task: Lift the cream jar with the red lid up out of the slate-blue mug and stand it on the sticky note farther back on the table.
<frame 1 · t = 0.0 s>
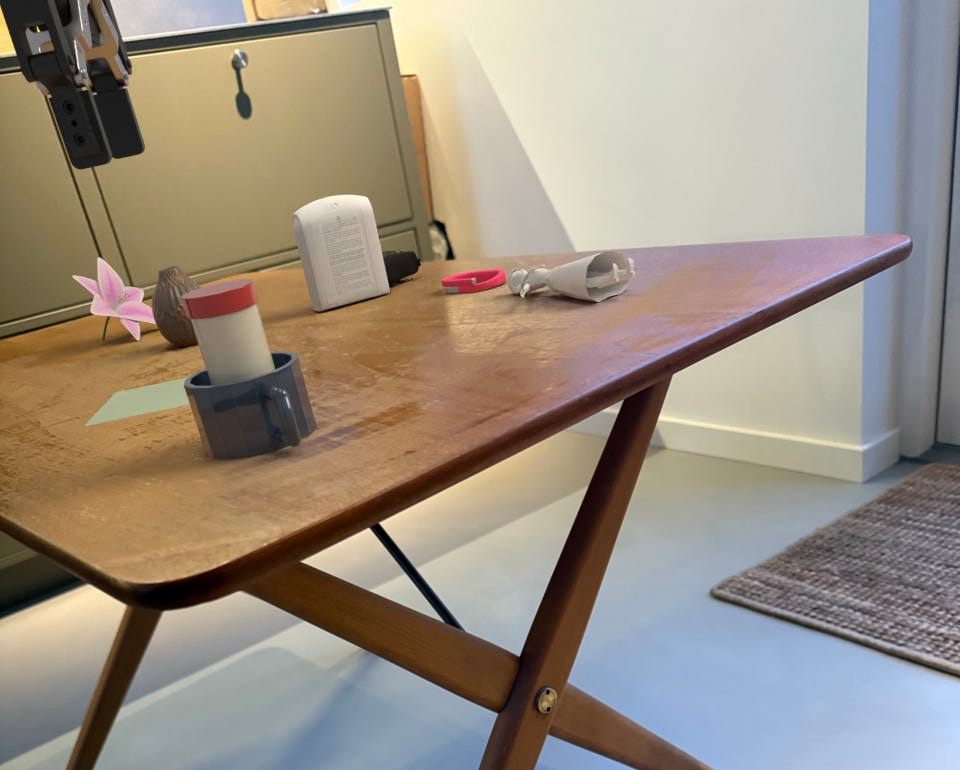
hand: (112, 161, 62), 22 cm above the table, tool pointing down, fingers open, 8 cm apart
fitness band: (474, 288, 123), on the table
jar: (261, 437, 81), resting on mug
sticky note: (170, 399, 101), on the table
woman figurine: (567, 297, 109), on the table
white rounded block: (353, 303, 129), on the table
tape measure: (393, 285, 135), on the table
lily: (130, 339, 137), on the table
mug: (263, 443, 81), on the table
vase: (192, 343, 126), on the table
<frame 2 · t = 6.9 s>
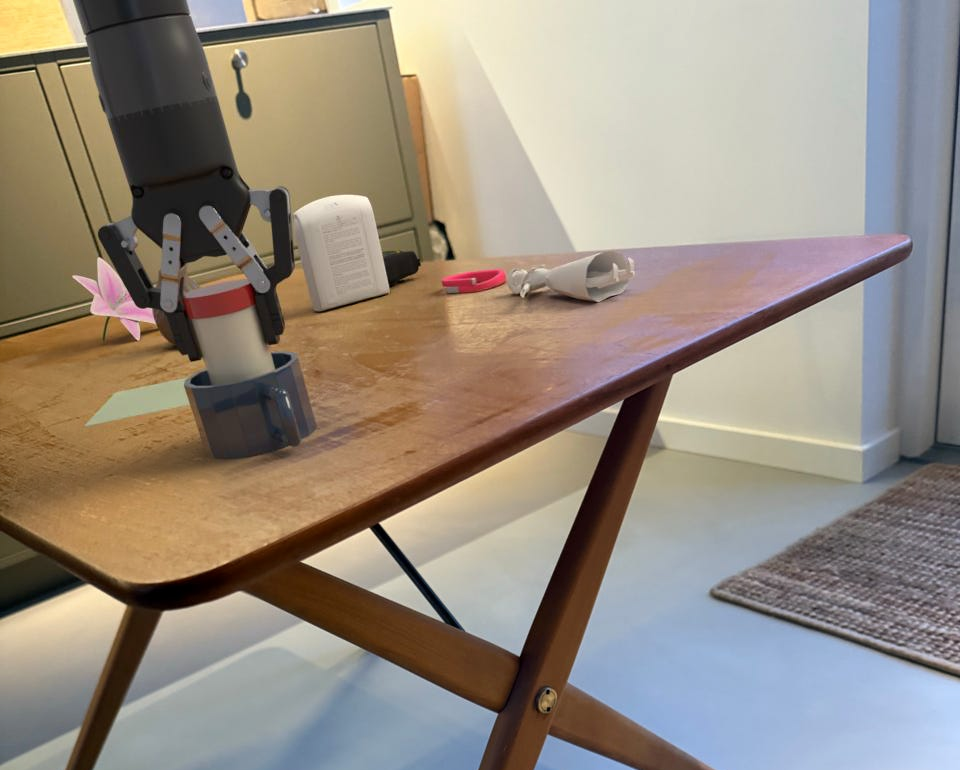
hand: (235, 349, 78), 7 cm above the table, tool pointing down, fingers closed on jar, 5 cm apart
jar: (261, 437, 81), point 1 cm above the table, touching gripper, mug
everything else where it was.
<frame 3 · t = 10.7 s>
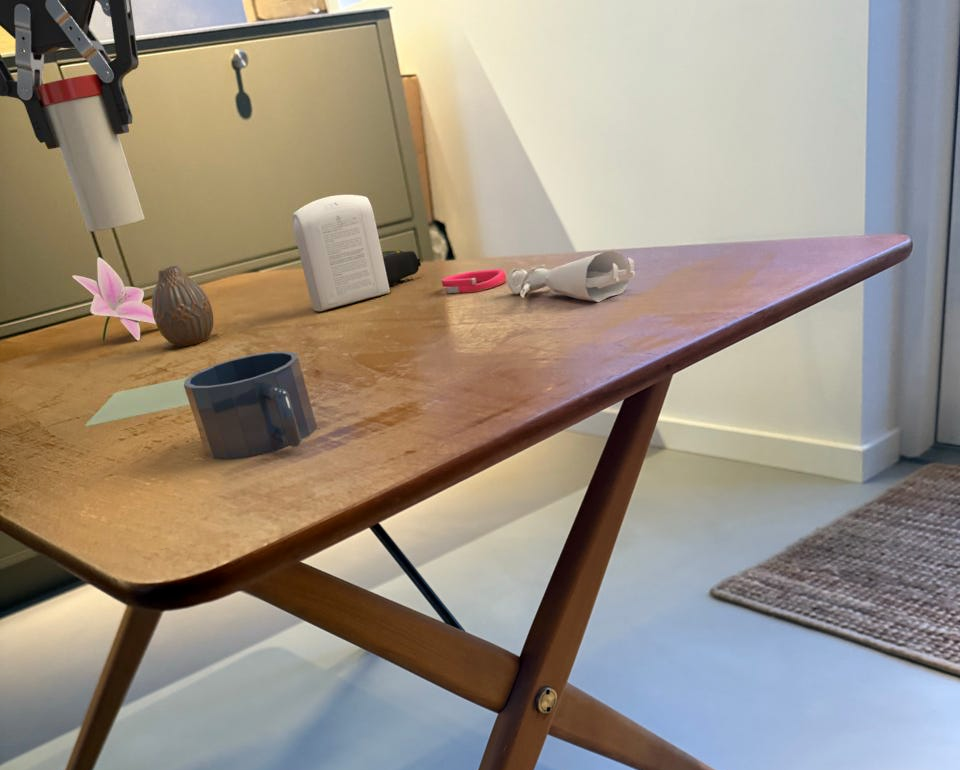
hand: (88, 139, 88), 23 cm above the table, tool pointing down, fingers closed on jar, 5 cm apart
jar: (117, 225, 91), point 16 cm above the table, touching gripper
everything else where it was.
when the fingers open (7 cm above the table, at t = 14.8 s): jar stays where it is, resting on sticky note.
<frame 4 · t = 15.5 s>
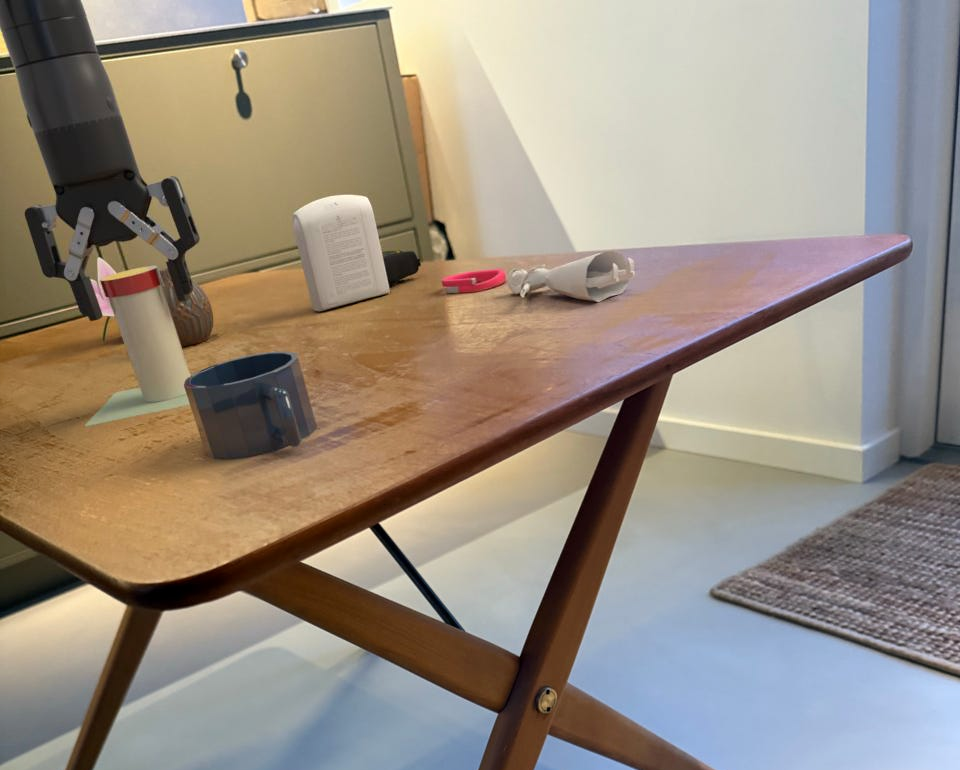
hand: (140, 309, 97), 9 cm above the table, tool pointing down, fingers open, 8 cm apart
jar: (169, 393, 101), resting on sticky note
everything else where it was.
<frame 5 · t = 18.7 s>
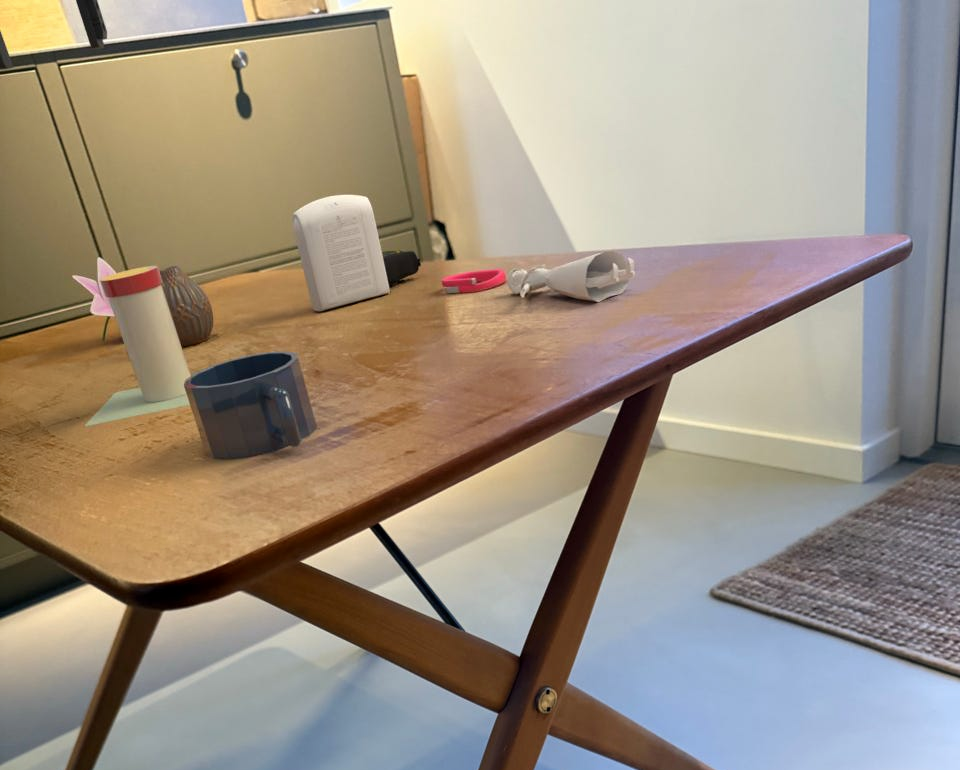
hand: (51, 58, 92), 30 cm above the table, tool pointing down, fingers open, 8 cm apart
nothing on the table moved.
at the end: jar inside the target area on the sticky note (0.1 cm from its centre), point 0.5 cm above the sticky note's base; jar tilted 0°; jar touching sticky note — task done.
